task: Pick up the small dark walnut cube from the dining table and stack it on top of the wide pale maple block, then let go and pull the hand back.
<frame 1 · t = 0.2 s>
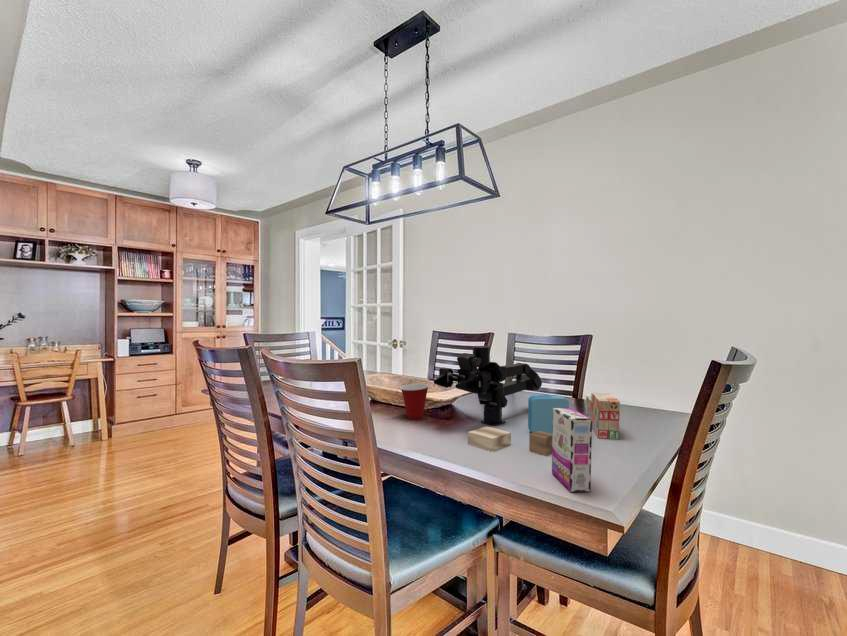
hand: (444, 384, 132), 17 cm above the table, tool horizontal, fingers open, 9 cm apart
stack of blocks: (601, 430, 142), on the table
walnut cube: (541, 451, 120), on the table
plastic cup: (414, 418, 156), on the table
maple base block: (489, 445, 126), on the table
blue flat block: (548, 434, 137), on the table
candy bar box: (570, 483, 99), on the table
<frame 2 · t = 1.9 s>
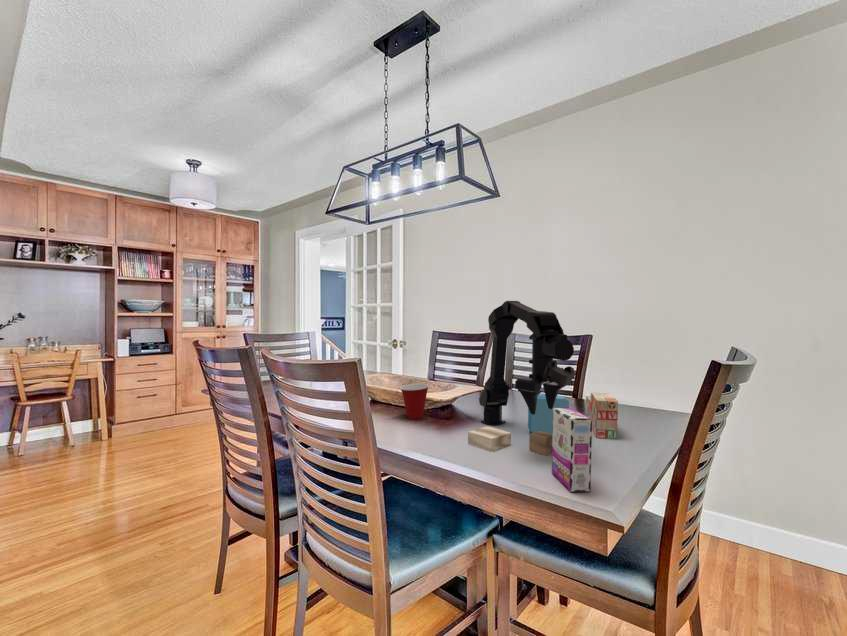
hand: (542, 411, 120), 11 cm above the table, tool pointing down, fingers open, 9 cm apart
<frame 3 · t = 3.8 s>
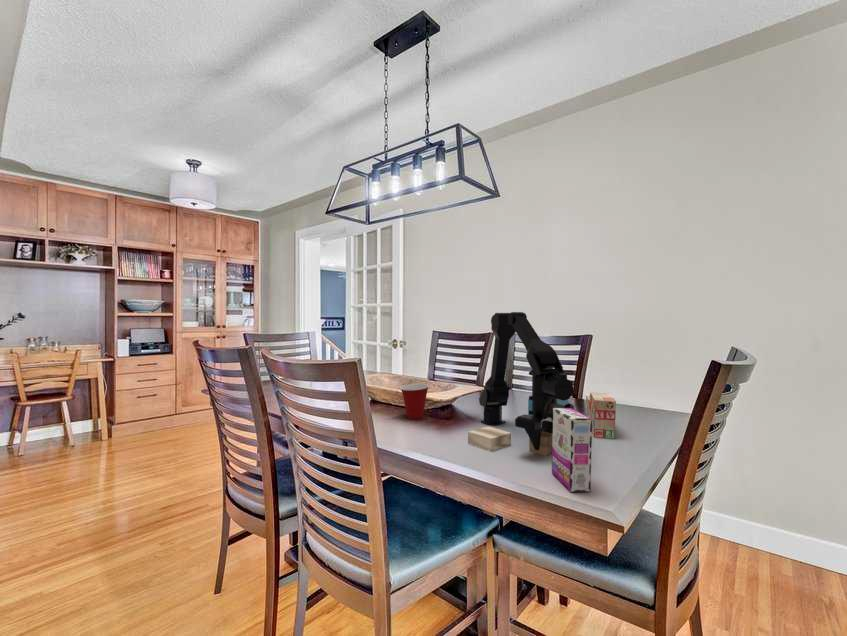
hand: (541, 447, 120), 1 cm above the table, tool pointing down, fingers closed on walnut cube, 5 cm apart
walnut cube: (541, 451, 120), on the table, touching gripper
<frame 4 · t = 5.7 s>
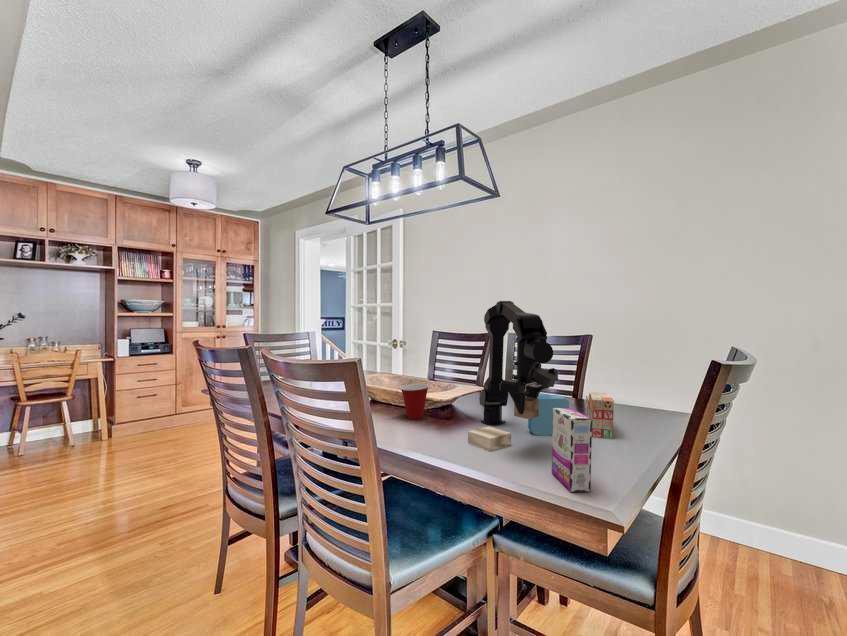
hand: (526, 412, 122), 11 cm above the table, tool pointing down, fingers closed on walnut cube, 5 cm apart
walnut cube: (526, 416, 122), point 10 cm above the table, touching gripper
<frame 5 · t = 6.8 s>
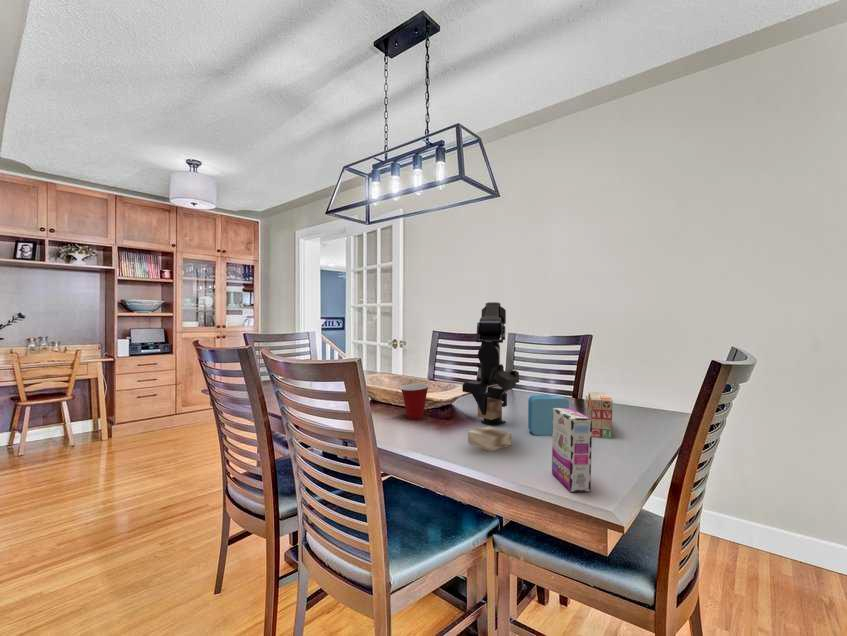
hand: (489, 413, 126), 9 cm above the table, tool pointing down, fingers closed on walnut cube, 5 cm apart
walnut cube: (489, 416, 126), point 8 cm above the table, touching gripper
when the fingers open (6 cm above the table, at t = 7.7 s): walnut cube drops 2 cm, point 4 cm above the table.
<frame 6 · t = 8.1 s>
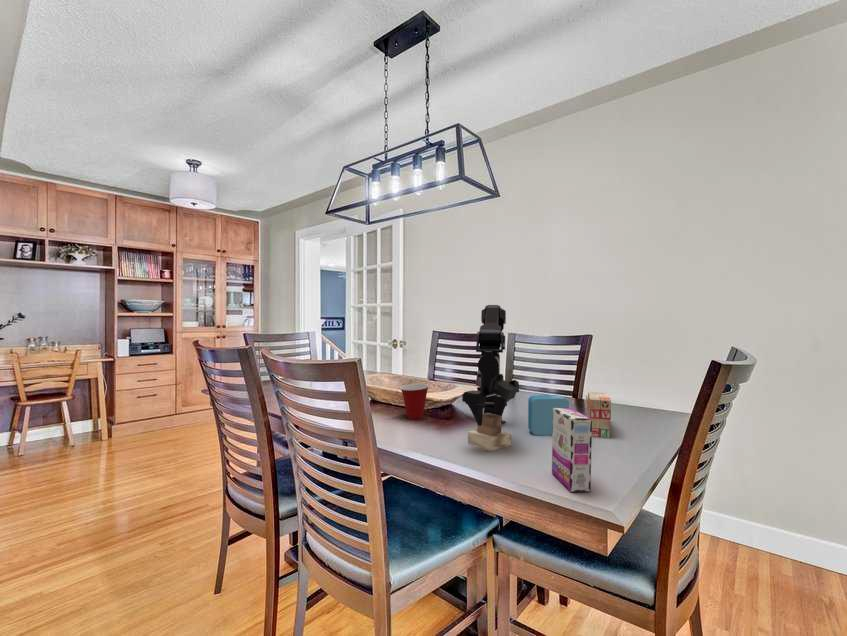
hand: (489, 422, 126), 6 cm above the table, tool pointing down, fingers open, 9 cm apart
walnut cube: (489, 432, 126), point 4 cm above the table
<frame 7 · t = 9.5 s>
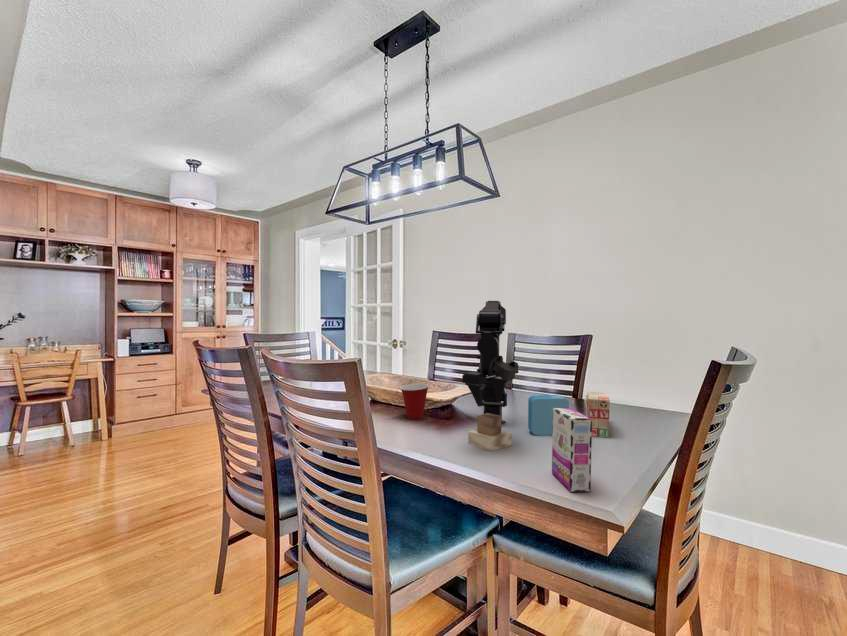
hand: (489, 403, 127), 12 cm above the table, tool pointing down, fingers open, 9 cm apart
walnut cube: (489, 432, 126), point 4 cm above the table, touching maple base block
maple base block: (489, 445, 126), on the table, touching walnut cube
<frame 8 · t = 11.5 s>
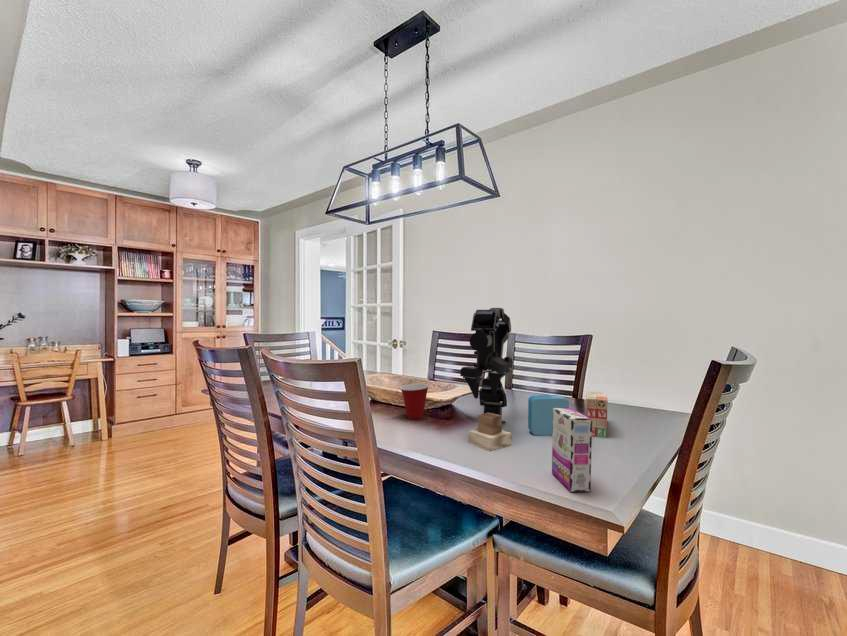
hand: (485, 396, 137), 12 cm above the table, tool pointing down, fingers open, 9 cm apart
walnut cube: (489, 431, 126), point 4 cm above the table
maple base block: (489, 445, 126), on the table
at the end: walnut cube 0.0 cm off-centre on the maple base block, point 4.0 cm above the maple base block's base; walnut cube tilted 0°; the gripper is holding nothing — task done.
